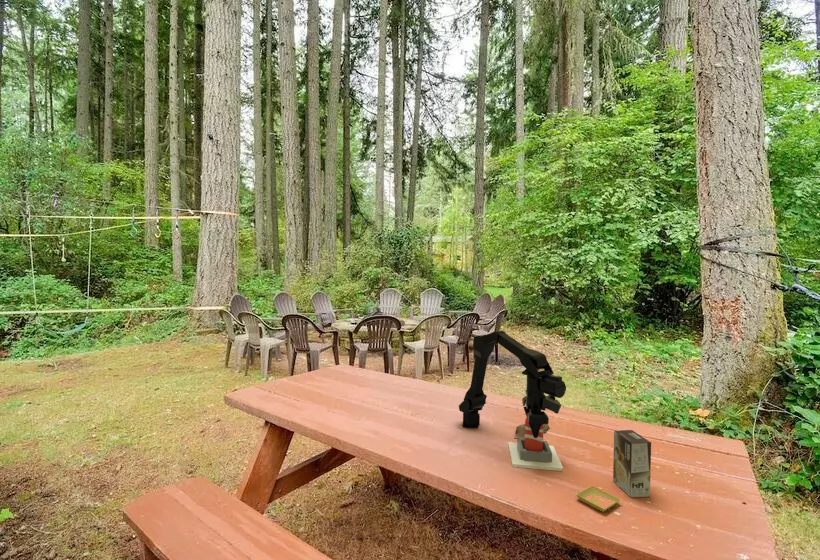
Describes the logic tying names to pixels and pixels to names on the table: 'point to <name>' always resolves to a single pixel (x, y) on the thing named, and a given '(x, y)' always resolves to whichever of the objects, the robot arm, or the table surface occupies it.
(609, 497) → the olive green tray
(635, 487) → the coffee box
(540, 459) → the can holder
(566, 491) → the table surface
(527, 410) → the robot arm
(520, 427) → the brown fossil slab
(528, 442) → the beverage can
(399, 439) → the table surface
